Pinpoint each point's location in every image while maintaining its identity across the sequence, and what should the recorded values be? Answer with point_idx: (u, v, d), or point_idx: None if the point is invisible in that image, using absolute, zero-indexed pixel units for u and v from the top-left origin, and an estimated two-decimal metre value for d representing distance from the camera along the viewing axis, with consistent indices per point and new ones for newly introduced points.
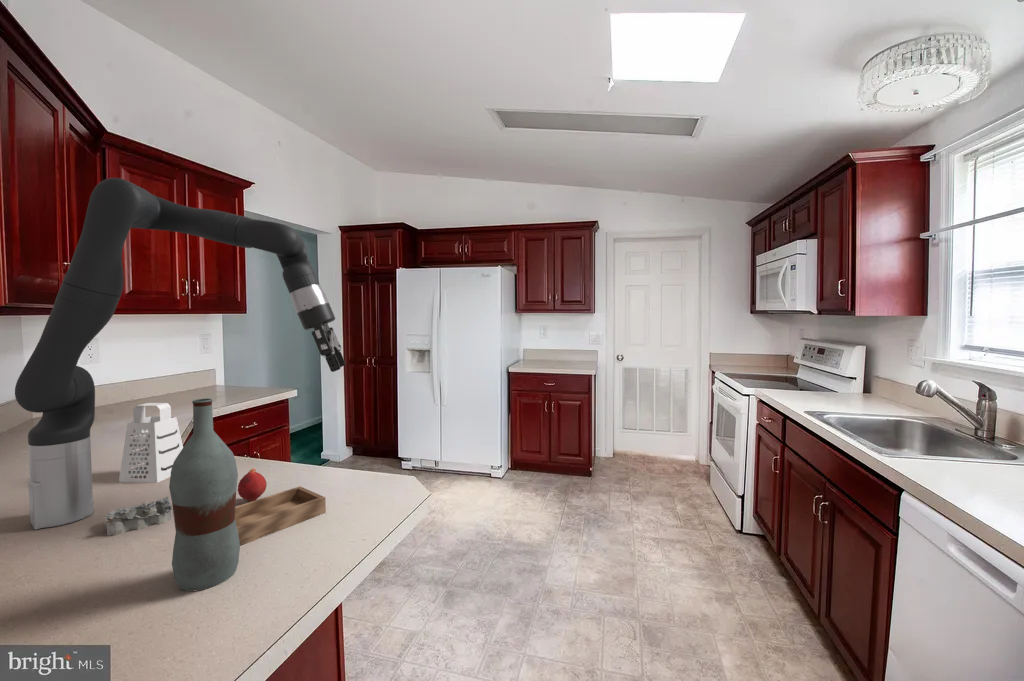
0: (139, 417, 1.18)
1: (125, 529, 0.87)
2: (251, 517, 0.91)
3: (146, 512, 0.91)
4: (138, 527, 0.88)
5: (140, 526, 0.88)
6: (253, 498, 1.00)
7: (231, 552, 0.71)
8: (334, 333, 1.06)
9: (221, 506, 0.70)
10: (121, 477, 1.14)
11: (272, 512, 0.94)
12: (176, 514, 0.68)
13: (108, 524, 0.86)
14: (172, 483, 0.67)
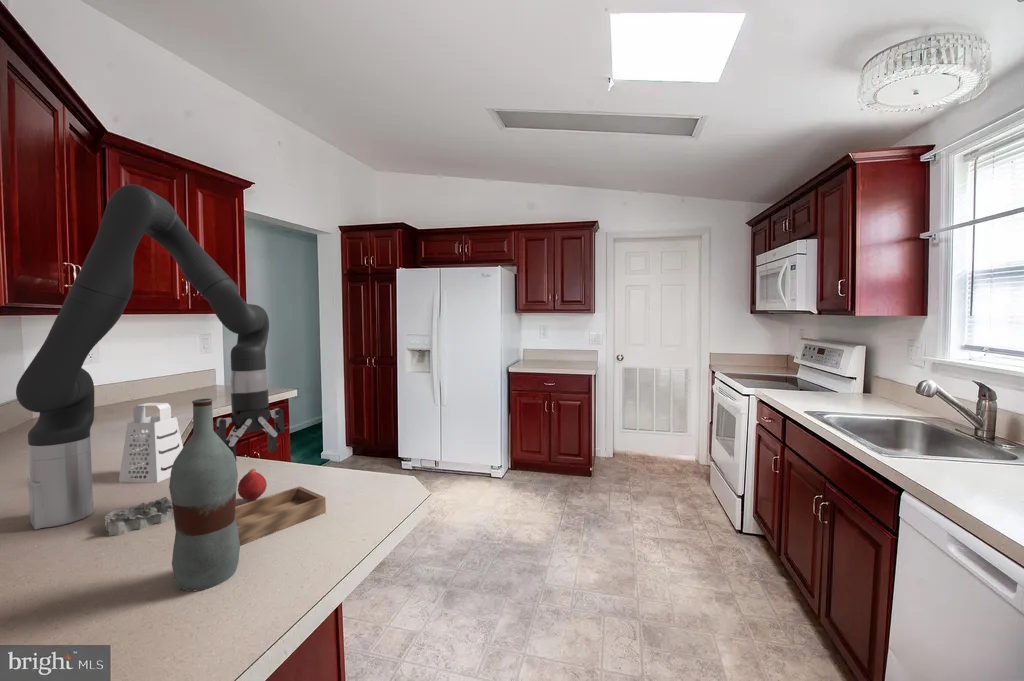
0: (139, 417, 1.18)
1: (127, 529, 0.87)
2: (251, 517, 0.91)
3: (147, 512, 0.91)
4: (140, 527, 0.88)
5: (142, 525, 0.89)
6: (253, 498, 1.00)
7: (231, 552, 0.71)
8: (262, 421, 1.01)
9: (221, 506, 0.70)
10: (121, 477, 1.14)
11: (272, 512, 0.94)
12: (176, 514, 0.68)
13: (110, 525, 0.86)
14: (172, 483, 0.67)
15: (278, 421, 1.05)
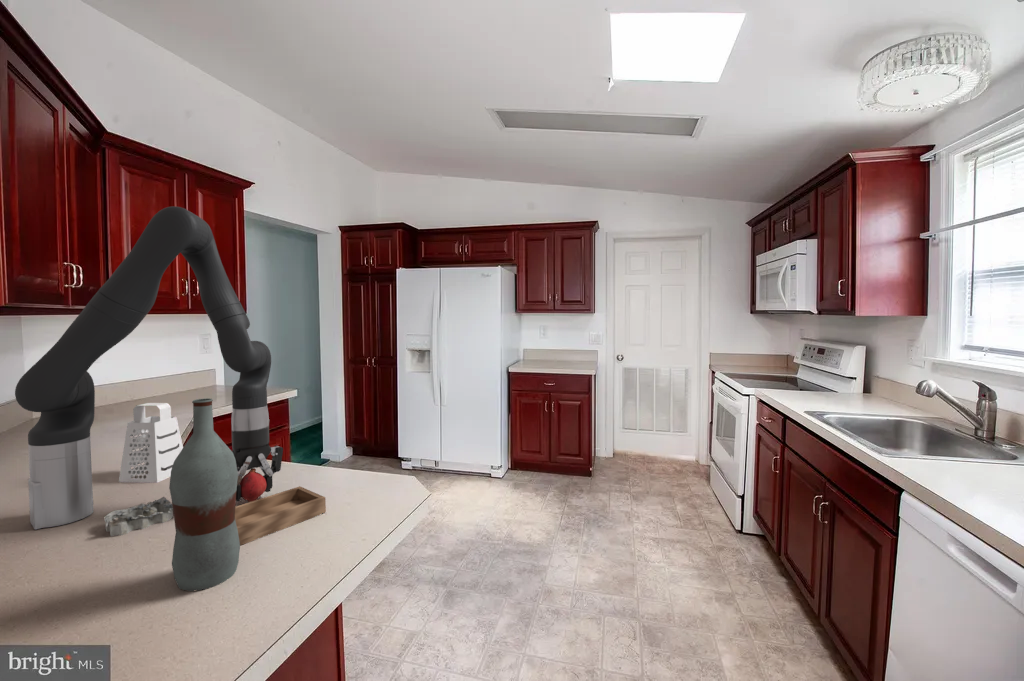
0: (139, 417, 1.18)
1: (129, 529, 0.87)
2: (251, 517, 0.91)
3: (148, 512, 0.91)
4: (142, 526, 0.88)
5: (145, 525, 0.89)
6: (253, 498, 1.00)
7: (231, 552, 0.71)
8: (261, 458, 1.01)
9: (221, 506, 0.70)
10: (121, 477, 1.14)
11: (272, 512, 0.94)
12: (176, 514, 0.68)
13: (112, 525, 0.85)
14: (172, 483, 0.67)
15: (276, 459, 1.05)
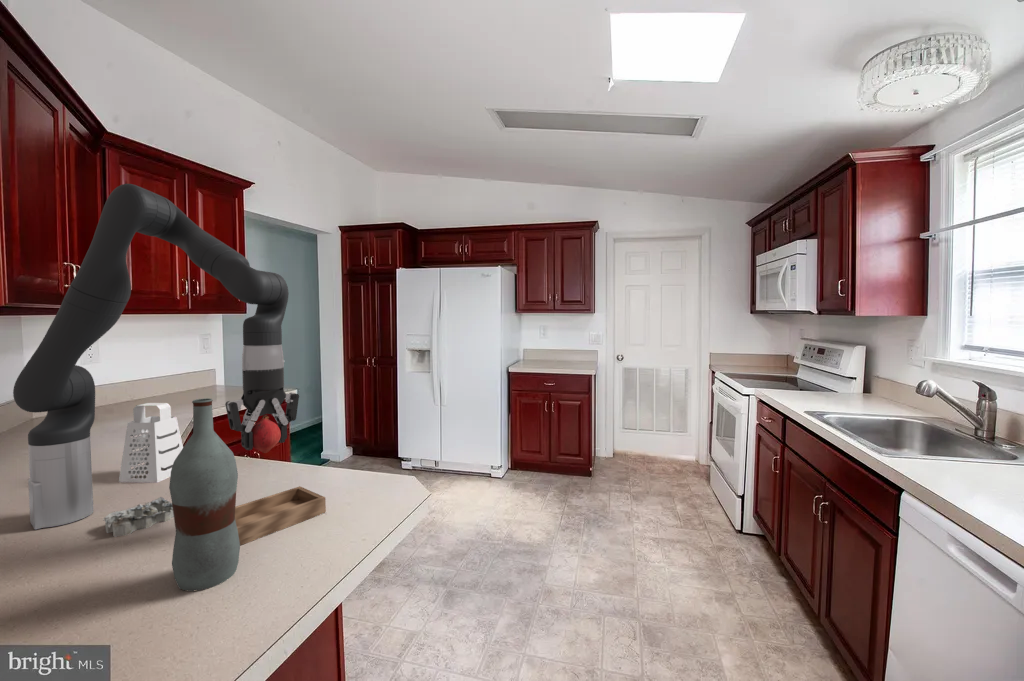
0: (139, 417, 1.18)
1: (132, 529, 0.87)
2: (251, 517, 0.91)
3: (149, 512, 0.91)
4: (146, 526, 0.89)
5: (148, 524, 0.89)
6: (266, 448, 0.89)
7: (231, 552, 0.71)
8: (275, 403, 0.90)
9: (221, 506, 0.70)
10: (121, 477, 1.14)
11: (272, 512, 0.94)
12: (176, 514, 0.68)
13: (116, 525, 0.85)
14: (172, 483, 0.67)
15: (291, 407, 0.94)
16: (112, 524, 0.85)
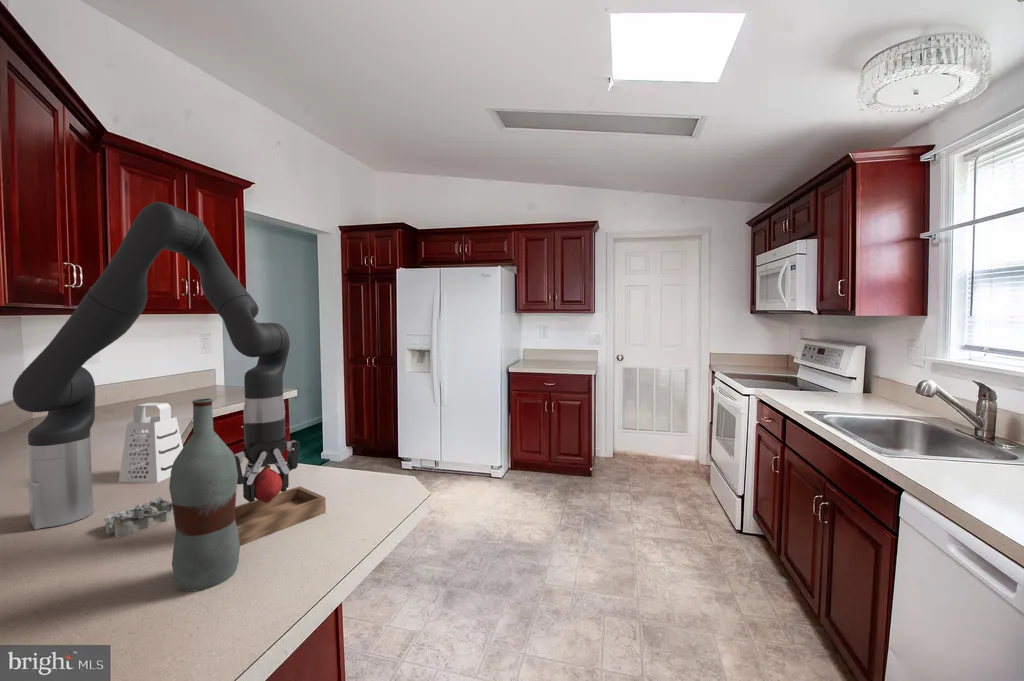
0: (139, 417, 1.18)
1: (134, 529, 0.87)
2: (251, 517, 0.91)
3: (149, 511, 0.91)
4: (148, 525, 0.89)
5: (150, 524, 0.89)
6: (268, 498, 0.89)
7: (231, 552, 0.71)
8: (277, 453, 0.91)
9: (221, 506, 0.70)
10: (121, 477, 1.14)
11: (272, 512, 0.94)
12: (176, 514, 0.68)
13: (118, 526, 0.85)
14: (172, 483, 0.67)
15: (293, 455, 0.94)
16: (114, 524, 0.85)
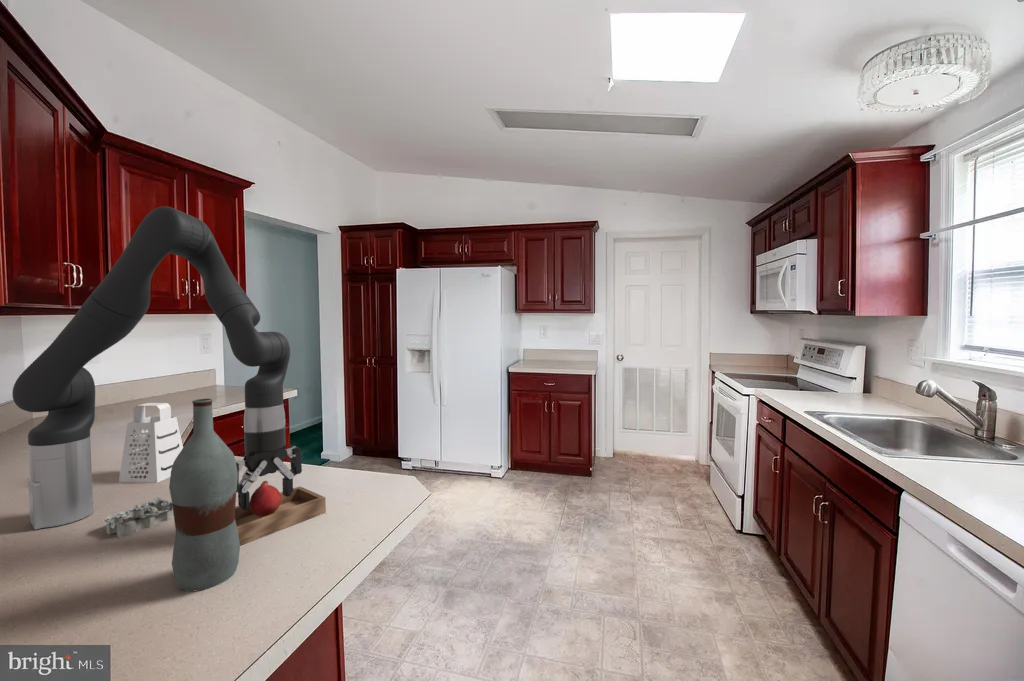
0: (138, 417, 1.18)
1: (136, 529, 0.87)
2: (251, 517, 0.91)
3: (150, 511, 0.91)
4: (150, 525, 0.89)
5: (152, 523, 0.89)
6: (268, 514, 0.90)
7: (231, 552, 0.71)
8: (278, 462, 0.91)
9: (221, 506, 0.70)
10: (121, 477, 1.14)
11: None
12: (176, 514, 0.68)
13: (120, 526, 0.85)
14: (172, 483, 0.67)
15: (295, 461, 0.95)
16: (116, 524, 0.85)
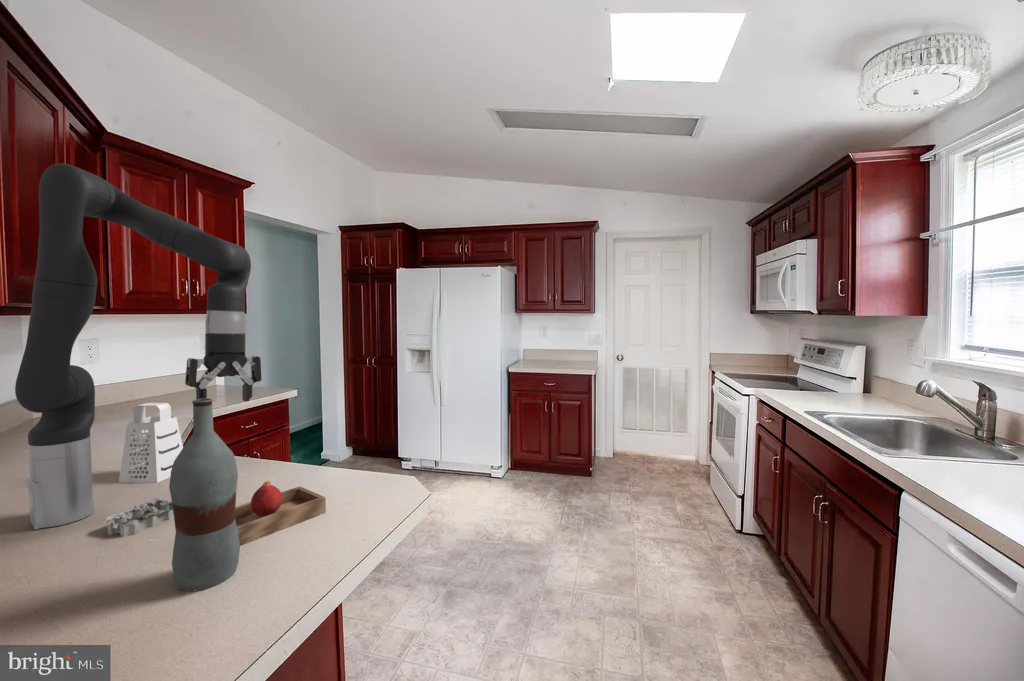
0: (139, 417, 1.18)
1: (139, 528, 0.88)
2: (251, 517, 0.91)
3: (151, 511, 0.91)
4: (152, 524, 0.89)
5: (154, 523, 0.90)
6: (268, 514, 0.90)
7: (231, 552, 0.71)
8: (236, 366, 0.96)
9: (221, 506, 0.70)
10: (121, 477, 1.14)
11: None
12: (176, 514, 0.68)
13: (124, 525, 0.85)
14: (172, 483, 0.67)
15: (255, 369, 1.00)
16: (119, 525, 0.85)
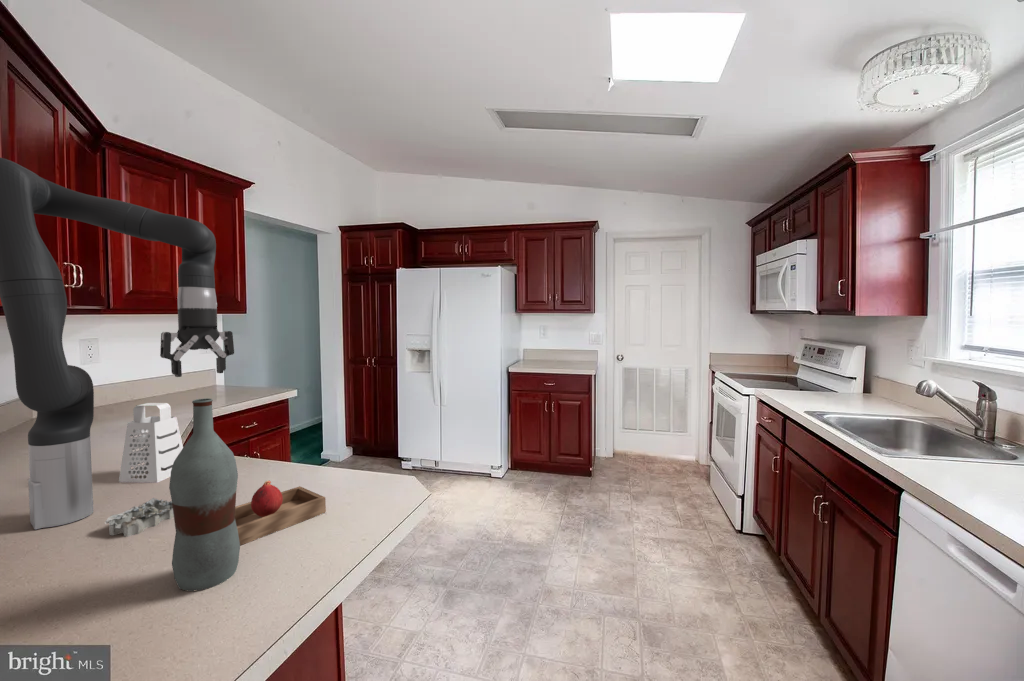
0: (139, 417, 1.18)
1: None
2: (251, 517, 0.91)
3: (152, 511, 0.91)
4: (155, 524, 0.90)
5: (157, 522, 0.90)
6: (268, 514, 0.90)
7: (231, 552, 0.71)
8: (209, 339, 1.02)
9: (221, 506, 0.70)
10: (121, 477, 1.14)
11: None
12: (176, 514, 0.68)
13: (128, 525, 0.85)
14: (172, 483, 0.67)
15: (227, 343, 1.06)
16: (123, 524, 0.85)
